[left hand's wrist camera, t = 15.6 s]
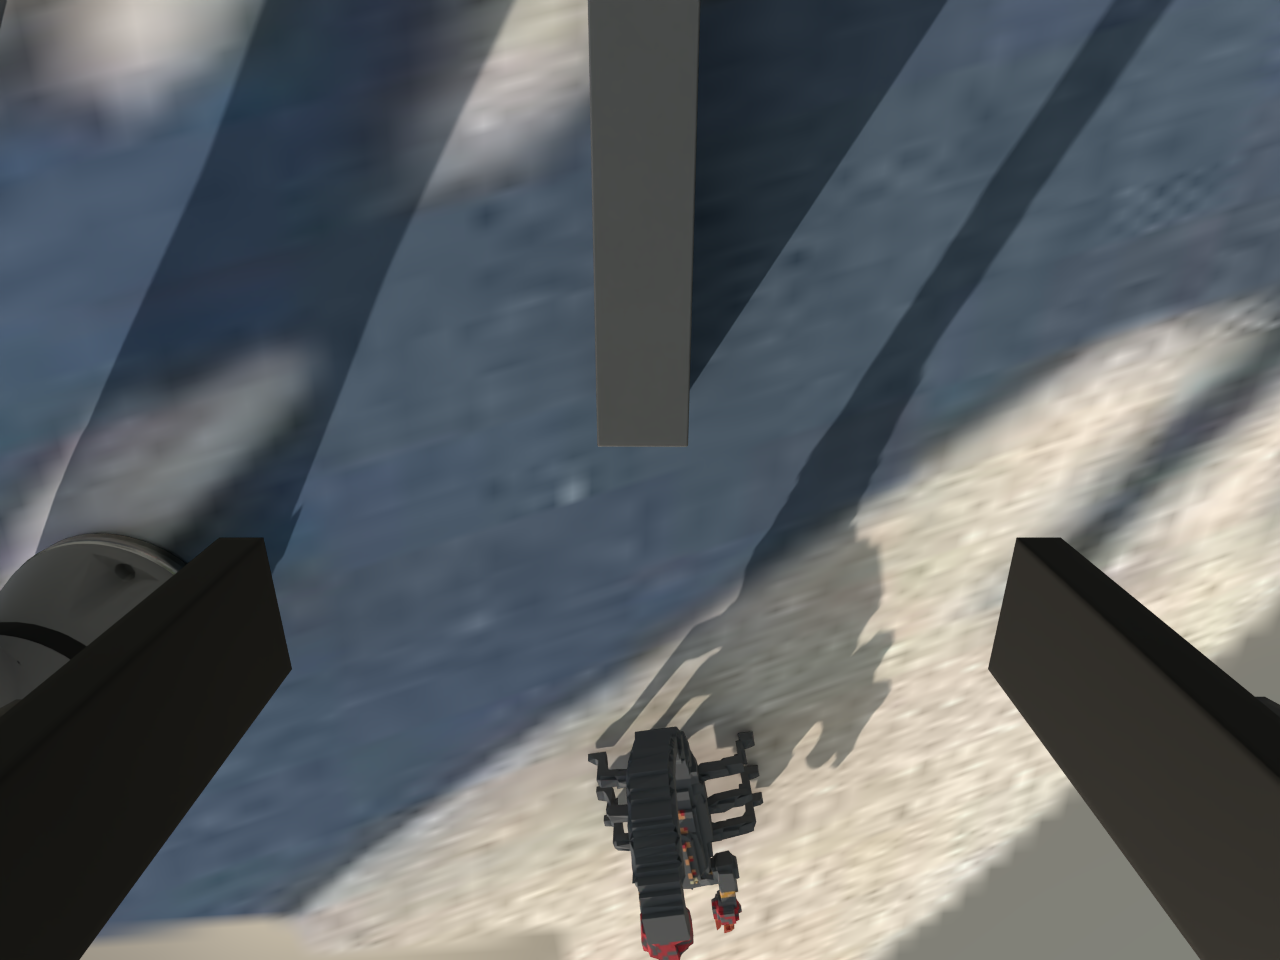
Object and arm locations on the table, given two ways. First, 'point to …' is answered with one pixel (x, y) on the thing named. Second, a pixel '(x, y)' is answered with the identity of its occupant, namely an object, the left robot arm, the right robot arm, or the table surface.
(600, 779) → the toy
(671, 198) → the beam
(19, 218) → the table surface
